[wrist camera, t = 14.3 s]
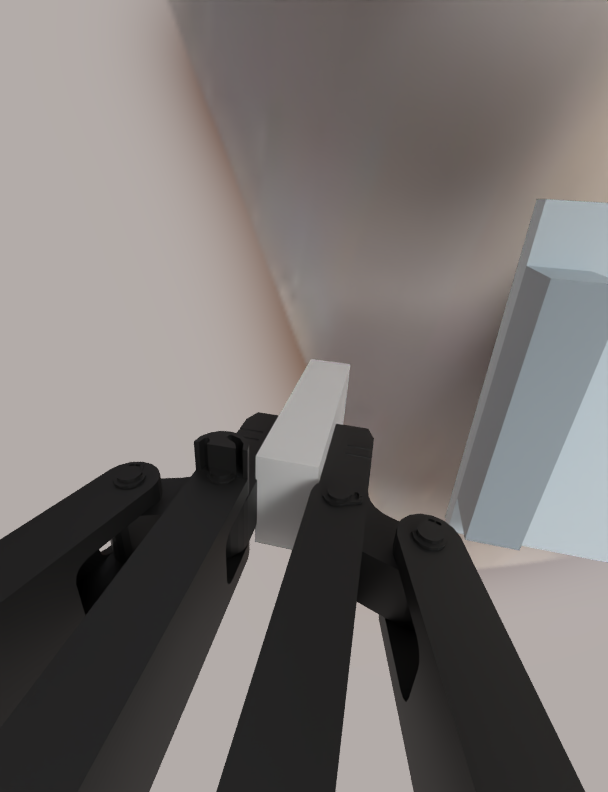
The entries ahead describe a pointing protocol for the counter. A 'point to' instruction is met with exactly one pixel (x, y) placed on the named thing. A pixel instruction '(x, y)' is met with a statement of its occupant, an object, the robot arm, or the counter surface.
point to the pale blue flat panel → (545, 397)
